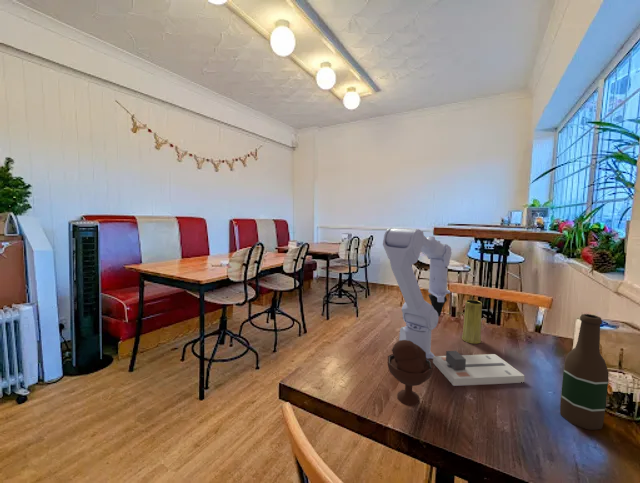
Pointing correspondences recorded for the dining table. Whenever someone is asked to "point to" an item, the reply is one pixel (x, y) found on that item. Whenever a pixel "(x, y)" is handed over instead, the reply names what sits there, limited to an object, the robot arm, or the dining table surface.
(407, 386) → the ice cream bowl
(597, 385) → the beer bottle
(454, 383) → the fader panel
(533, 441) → the dining table surface
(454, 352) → the fader knob
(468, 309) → the vase
